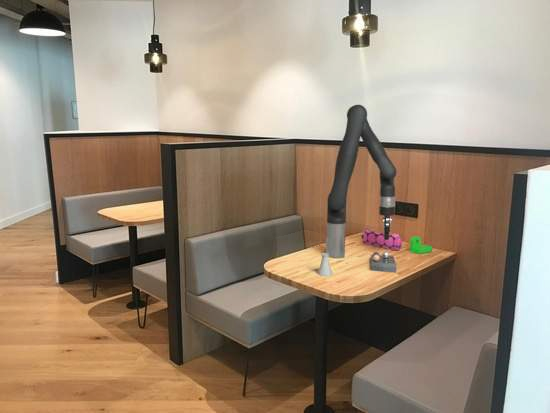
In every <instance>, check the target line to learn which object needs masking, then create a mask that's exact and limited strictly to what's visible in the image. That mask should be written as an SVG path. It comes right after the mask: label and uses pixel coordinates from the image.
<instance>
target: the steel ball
mask: <svg viewBox="0 0 550 413" xmlns="http://www.w3.org/2000/svg"><path fill="white" fill-rule="evenodd" d="M382 255H383V257H384V258H388V257H389V256H390V253H389V251H383V252H382Z"/></svg>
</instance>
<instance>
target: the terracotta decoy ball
mask: <svg viewBox="0 0 550 413" xmlns="http://www.w3.org/2000/svg"><path fill="white" fill-rule="evenodd" d="M379 255H380V254H379ZM379 255H374V256H373V260H374V261H379V260H380V257H379Z"/></svg>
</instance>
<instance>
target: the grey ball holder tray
mask: <svg viewBox="0 0 550 413" xmlns="http://www.w3.org/2000/svg"><path fill="white" fill-rule="evenodd" d="M379 255H380V256H379V257H380V260H379V261H374V260H373V254H370V270H371V271H372V272H381V273H382V272H383V273H397V267H398V266H397V263H396V261H395V256H394V255H389V257H388V258H384V257H383V254H382V255H381V254H379Z"/></svg>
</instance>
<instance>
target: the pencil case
mask: <svg viewBox="0 0 550 413" xmlns="http://www.w3.org/2000/svg"><path fill="white" fill-rule="evenodd" d="M364 229H365V231H364V233H363V234H361V235H360V236H361V238H362V239H363V240H362V242H363V243H364V244H365V245H368V246H369V245H370V246H373V247H376V248H382V249H385V250H386V249H387V250H390V251H400V250H401V248H402V246H403V241H402V238H401V235H400V234H398V233H389V240H385V239H384V232H382V231H378V230H372V229H371V228H370V227H365V228H364Z"/></svg>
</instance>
